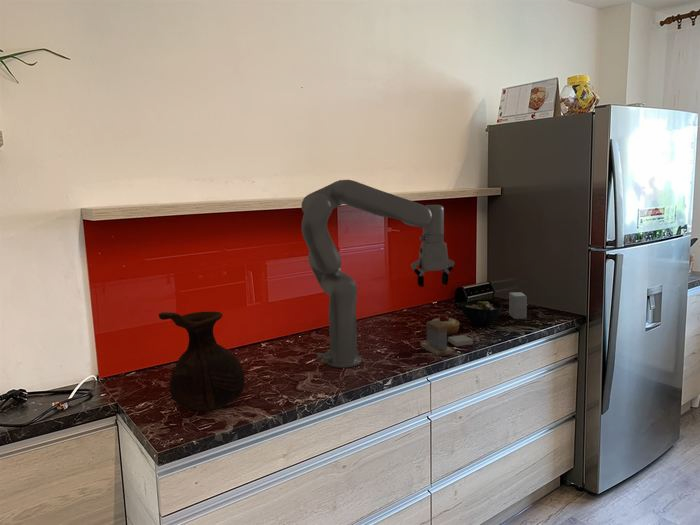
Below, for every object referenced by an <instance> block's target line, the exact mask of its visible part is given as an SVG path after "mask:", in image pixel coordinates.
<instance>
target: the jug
mask: <svg viewBox="0 0 700 525" xmlns="http://www.w3.org/2000/svg"><path fill="white" fill-rule="evenodd" d="M222 317H223V313H222V312H219V311H197V312H191V313H186V314H182V315H181V314H180V313H176V312H172V311H171V312H169V311H168V312H167V311H165V312H163V311H162V312H160V313H158V318H159V319H160V320H163V321H164V320H165V321H166V320H172V321H173V322H174V325H175V326H176V327H180V328H183V329H185V330H186V332H187V334H188V345H187V348H186V350H185V351H184V352H183V353H182V354H181V355H180V357H179V358H178V359H177V362H176V364H175V365H174V368H173V369H172V370H171V371H170V372H171V376H170V381H169V393H170V396H171V398H172V400H173V401H174V403H176V404H177V405H179V406H182V407H184V408H187V409H190V410H195V411H198V412H210V411H217V410H219V409H223V408H224V407H225V406H227V405H229V404H231V403H232V402H233V401H235V400H236V399H237V398H239V397H240V395H242V393H243V391H244V388H245V383H246V382H245V373H244V369H243V366H242V364H241V361H240V360H239V358H237V356H236V355H234V354H233V353H232V352H231V351H229V350H228V349H227V348H226V347H224V346H222V345H220V344H218V343H217V341H216V338H215V335H214V326H215V324H216V323H217V322H218V321H220V320H221V319H222Z"/></svg>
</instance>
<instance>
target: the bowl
mask: <svg viewBox="0 0 700 525" xmlns="http://www.w3.org/2000/svg"><path fill="white" fill-rule="evenodd" d="M460 308H461V311H462V314H463V316H464V317H465V318H466V319H467V320H468V321H469V322H470V324H471V325H473V326H475V327H489V326H491V325H492V324H493V322H494V321H496V320H497V319H498V317H499V316H500V315H501V312H502V311H503V310H502V309H503V304H502V303H501V302H499V301H496V300H492V299H476V300H470V301H466V302H464V303H461V305H460Z"/></svg>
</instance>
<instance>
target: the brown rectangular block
mask: <svg viewBox="0 0 700 525" xmlns="http://www.w3.org/2000/svg"><path fill="white" fill-rule="evenodd" d="M425 323H426V324H425V325H426V327H425V328H426V342H427V344H428V345H430V346H431V347H433V348H435V349H436V350H438V351H440V350H446V349H447V346H448V336H447V326H446V325H444V324H442V323H439V322H437V321H432V320H428V321H426V322H425Z"/></svg>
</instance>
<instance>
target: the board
mask: <svg viewBox="0 0 700 525" xmlns="http://www.w3.org/2000/svg"><path fill="white" fill-rule="evenodd" d="M420 347H422V348H423V349H425V350H426V351H428V352H429V353H432V354H433V355H434V356H436V357H438V356H439V357H440V356H446V355H452V354H455V350H454V349H453V348H451V347H449V346H448V345H447V349H446V350H440V351H438V350H436V349H435V348H433V347H431V346H430V345H428V344H427V341H423V342H420Z"/></svg>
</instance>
